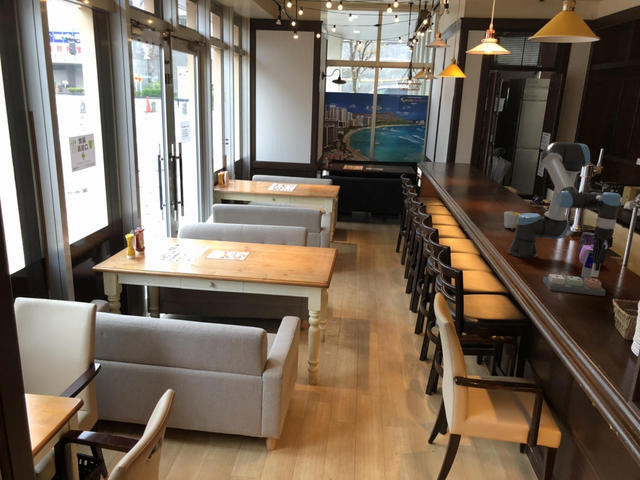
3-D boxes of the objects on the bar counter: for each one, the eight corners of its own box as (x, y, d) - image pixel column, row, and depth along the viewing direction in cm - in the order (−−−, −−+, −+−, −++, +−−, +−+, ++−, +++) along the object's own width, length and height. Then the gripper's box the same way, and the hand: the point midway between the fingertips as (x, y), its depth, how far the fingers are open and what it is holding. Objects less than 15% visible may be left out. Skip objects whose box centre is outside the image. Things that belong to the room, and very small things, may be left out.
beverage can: (576, 250, 307) (580, 231, 303) (589, 252, 305) (593, 232, 302) (579, 254, 300) (584, 234, 297) (593, 255, 299) (597, 235, 295)
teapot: (576, 256, 294) (579, 239, 291) (596, 259, 291) (600, 242, 288) (581, 266, 277) (585, 247, 274) (603, 269, 274) (607, 250, 272)
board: (542, 281, 249) (543, 276, 248) (595, 286, 246) (596, 282, 245) (549, 290, 237) (550, 285, 237) (604, 296, 234) (605, 291, 233)
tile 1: (547, 279, 245) (549, 273, 244) (560, 281, 244) (561, 274, 243) (551, 283, 240) (552, 277, 239) (563, 285, 239) (565, 278, 238)
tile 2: (565, 281, 244) (566, 275, 243) (578, 283, 243) (579, 276, 242) (569, 285, 239) (570, 279, 238) (581, 287, 238) (583, 280, 237)
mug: (502, 228, 349) (505, 213, 346) (501, 225, 358) (503, 210, 355) (523, 231, 346) (526, 216, 343) (521, 227, 356) (524, 212, 353)
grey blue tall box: (588, 282, 252) (594, 252, 248) (578, 278, 256) (584, 250, 252) (593, 280, 255) (600, 251, 251) (583, 277, 259) (589, 248, 254)
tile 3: (583, 283, 243) (584, 277, 242) (595, 284, 242) (597, 278, 241) (587, 287, 238) (588, 281, 237) (600, 289, 237) (601, 282, 236)
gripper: (591, 223, 239) (580, 271, 245) (601, 229, 226) (590, 280, 233) (608, 224, 238) (597, 272, 244) (619, 231, 225) (608, 281, 232)
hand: (594, 276), depth 238 cm, fingers closed
